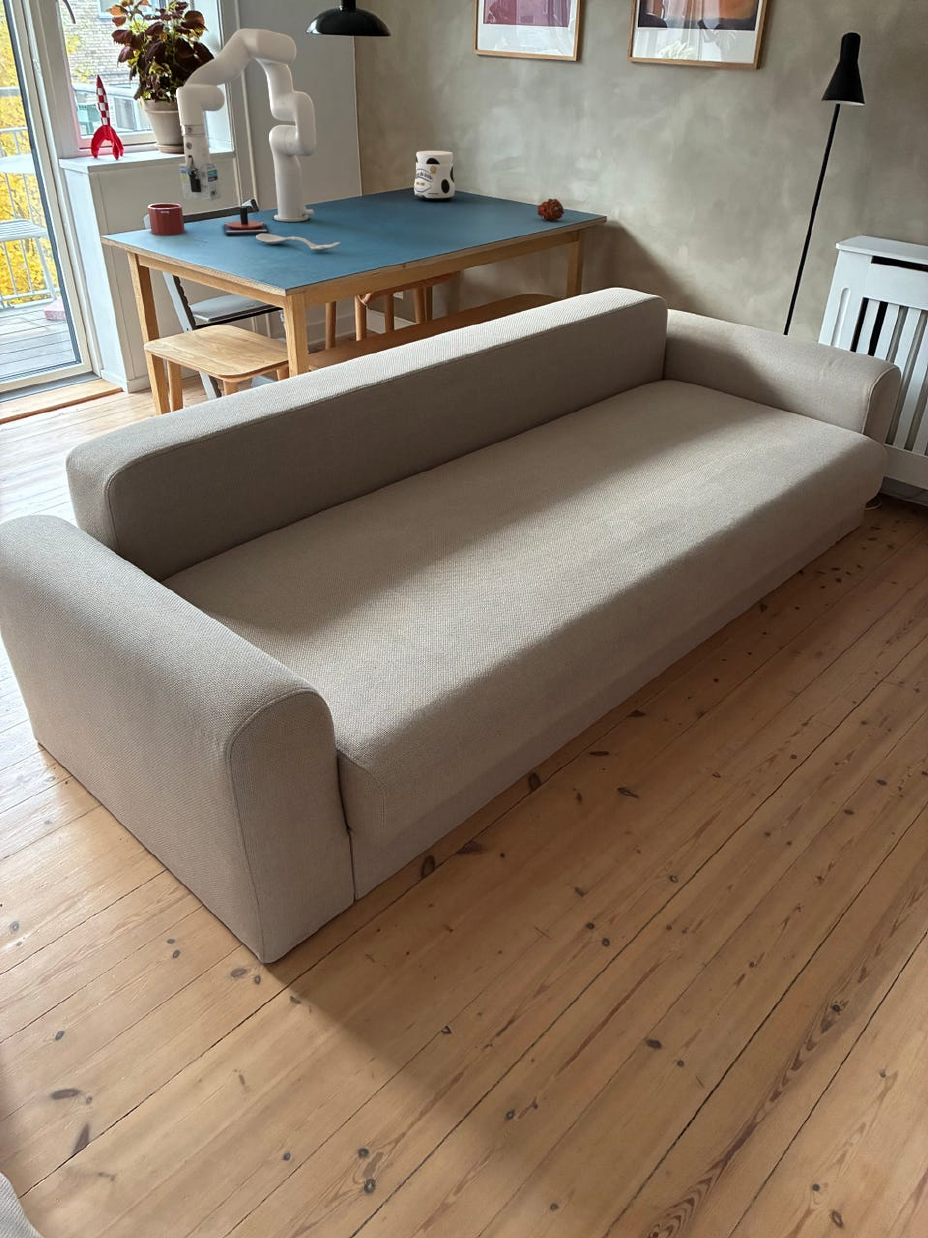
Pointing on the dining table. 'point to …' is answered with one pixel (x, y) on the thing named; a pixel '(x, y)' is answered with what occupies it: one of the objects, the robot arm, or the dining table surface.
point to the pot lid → (244, 221)
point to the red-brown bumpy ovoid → (551, 210)
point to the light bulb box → (201, 183)
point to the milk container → (434, 175)
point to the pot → (166, 219)
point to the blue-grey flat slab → (245, 231)
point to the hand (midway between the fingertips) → (201, 189)
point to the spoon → (277, 240)
